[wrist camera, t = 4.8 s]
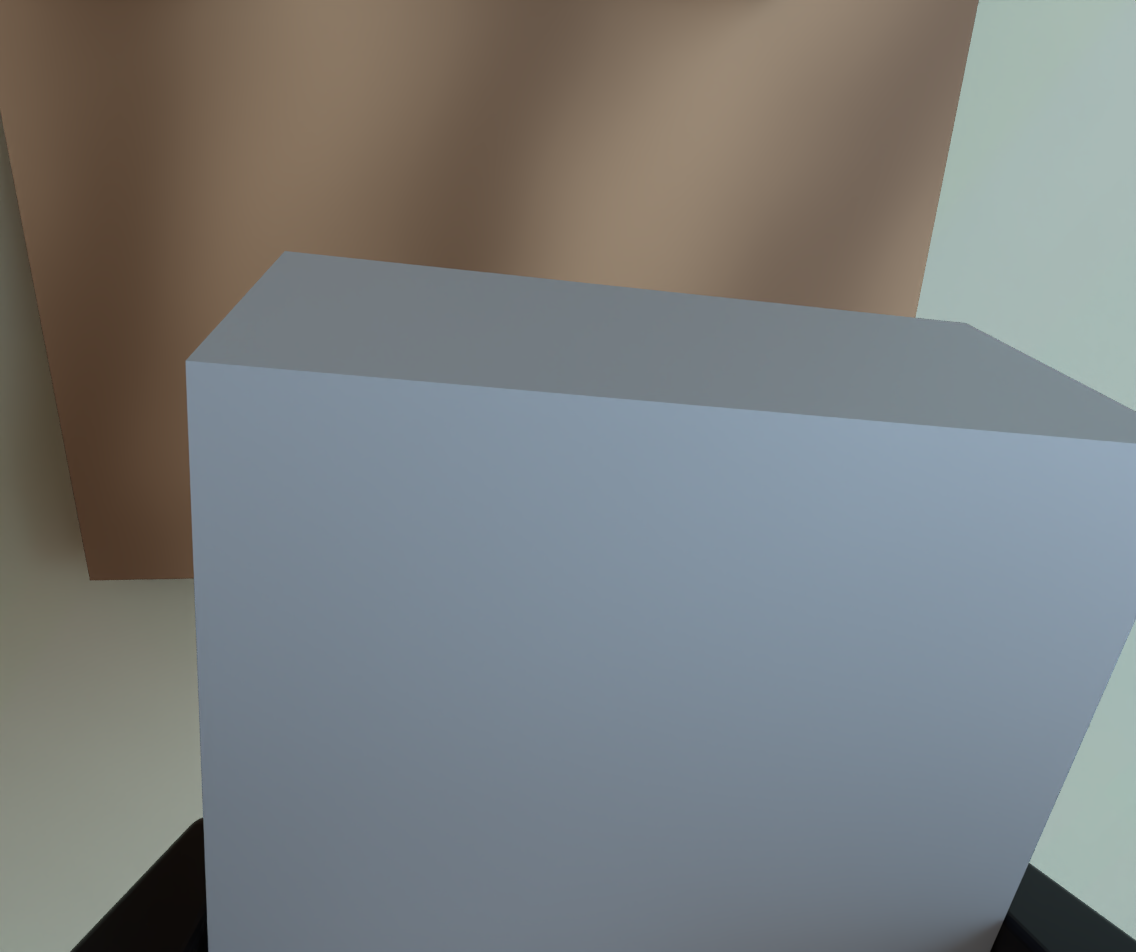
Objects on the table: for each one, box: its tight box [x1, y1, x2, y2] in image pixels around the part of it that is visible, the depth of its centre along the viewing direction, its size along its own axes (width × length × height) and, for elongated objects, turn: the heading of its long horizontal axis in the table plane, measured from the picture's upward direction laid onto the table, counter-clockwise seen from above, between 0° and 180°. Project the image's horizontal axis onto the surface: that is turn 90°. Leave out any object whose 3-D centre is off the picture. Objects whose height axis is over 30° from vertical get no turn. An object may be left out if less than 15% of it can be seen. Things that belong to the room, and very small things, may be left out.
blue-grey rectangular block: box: [186, 251, 1136, 952], centre depth 9 cm, size 6×10×3 cm, turn 172°
